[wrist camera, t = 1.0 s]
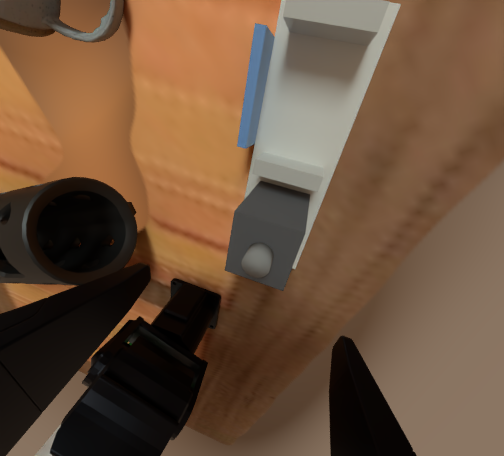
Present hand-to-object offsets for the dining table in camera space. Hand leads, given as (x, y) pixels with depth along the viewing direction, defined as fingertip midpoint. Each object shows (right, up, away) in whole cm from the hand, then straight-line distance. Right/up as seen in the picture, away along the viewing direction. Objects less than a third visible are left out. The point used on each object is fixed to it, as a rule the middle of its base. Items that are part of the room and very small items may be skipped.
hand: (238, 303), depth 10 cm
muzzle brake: (-24, +5, +18) cm, 31 cm away
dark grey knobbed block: (+3, +5, +8) cm, 10 cm away
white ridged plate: (+4, +8, +7) cm, 11 cm away
